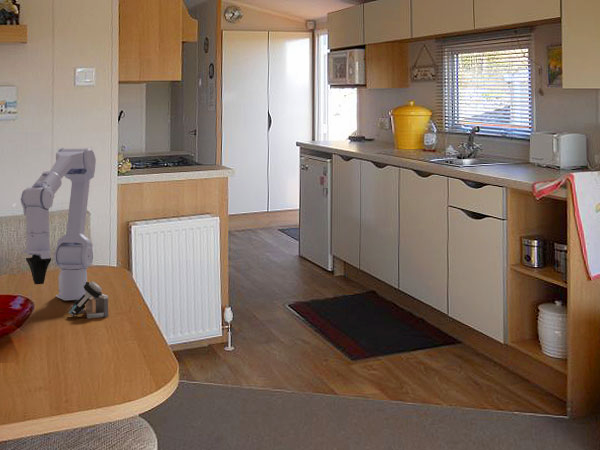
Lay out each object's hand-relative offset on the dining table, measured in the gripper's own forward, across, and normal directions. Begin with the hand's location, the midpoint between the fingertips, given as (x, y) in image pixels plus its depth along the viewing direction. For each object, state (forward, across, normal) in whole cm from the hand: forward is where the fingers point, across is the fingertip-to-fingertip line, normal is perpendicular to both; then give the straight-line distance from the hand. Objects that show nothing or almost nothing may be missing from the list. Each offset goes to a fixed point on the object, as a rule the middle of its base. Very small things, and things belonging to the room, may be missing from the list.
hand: (38, 283), depth 188 cm
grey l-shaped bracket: (+9, +3, +14) cm, 17 cm away
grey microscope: (+8, +3, +7) cm, 12 cm away
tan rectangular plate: (+9, +3, +13) cm, 16 cm away
